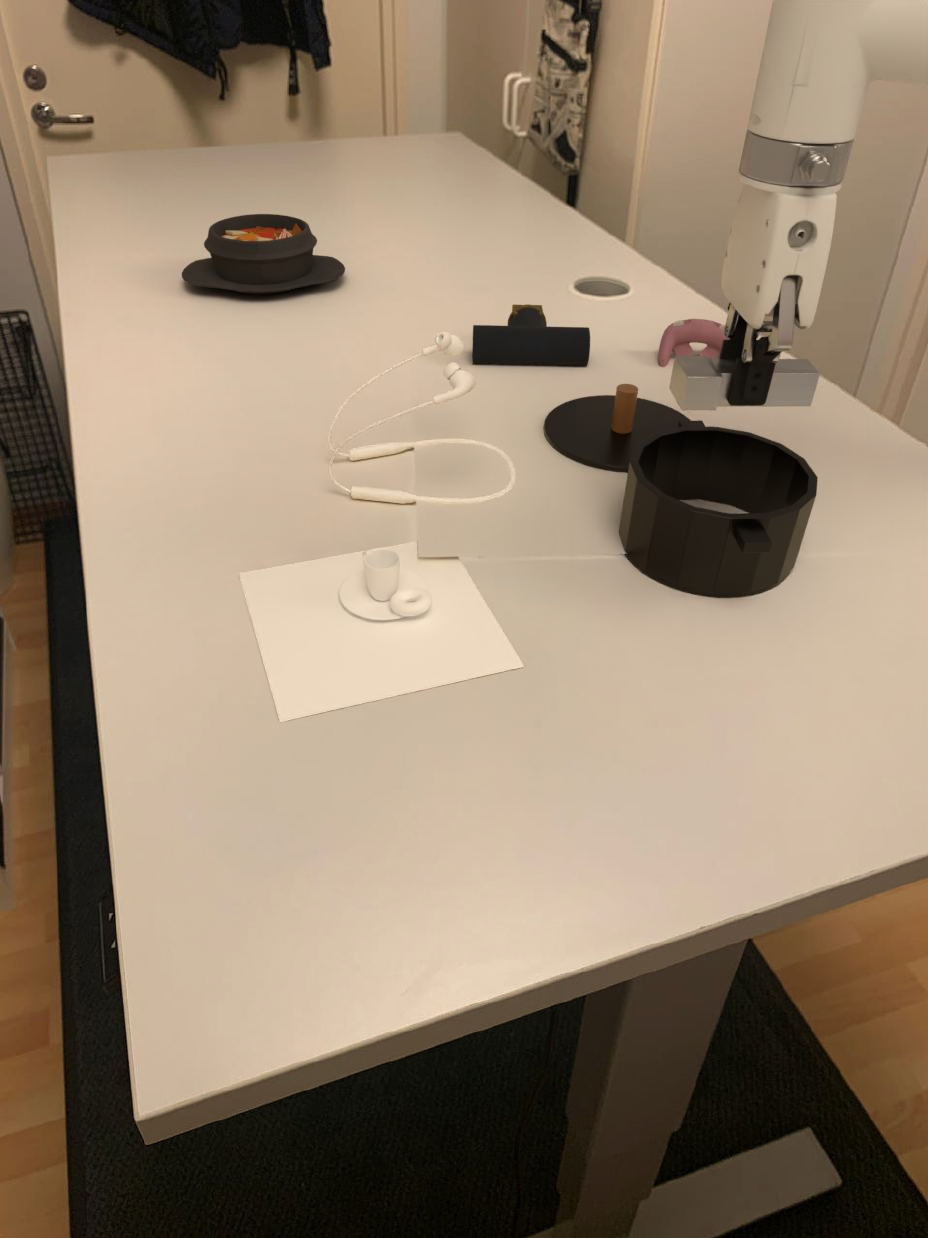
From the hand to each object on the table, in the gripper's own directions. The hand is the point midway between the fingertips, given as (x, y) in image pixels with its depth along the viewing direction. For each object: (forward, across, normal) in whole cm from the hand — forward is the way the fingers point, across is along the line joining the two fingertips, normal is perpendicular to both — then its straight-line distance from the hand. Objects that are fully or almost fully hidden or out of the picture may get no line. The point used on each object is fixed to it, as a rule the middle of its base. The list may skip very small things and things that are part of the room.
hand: (739, 392), depth 78 cm
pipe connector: (+16, +46, +12) cm, 50 cm away
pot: (+16, 0, 0) cm, 16 cm away
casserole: (+16, +74, +50) cm, 91 cm away
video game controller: (+16, +42, -10) cm, 46 cm away
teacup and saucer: (+16, -10, +32) cm, 37 cm away
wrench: (+1, 0, 0) cm, 1 cm away
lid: (+15, +22, +4) cm, 27 cm away
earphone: (+16, +14, +27) cm, 34 cm away
